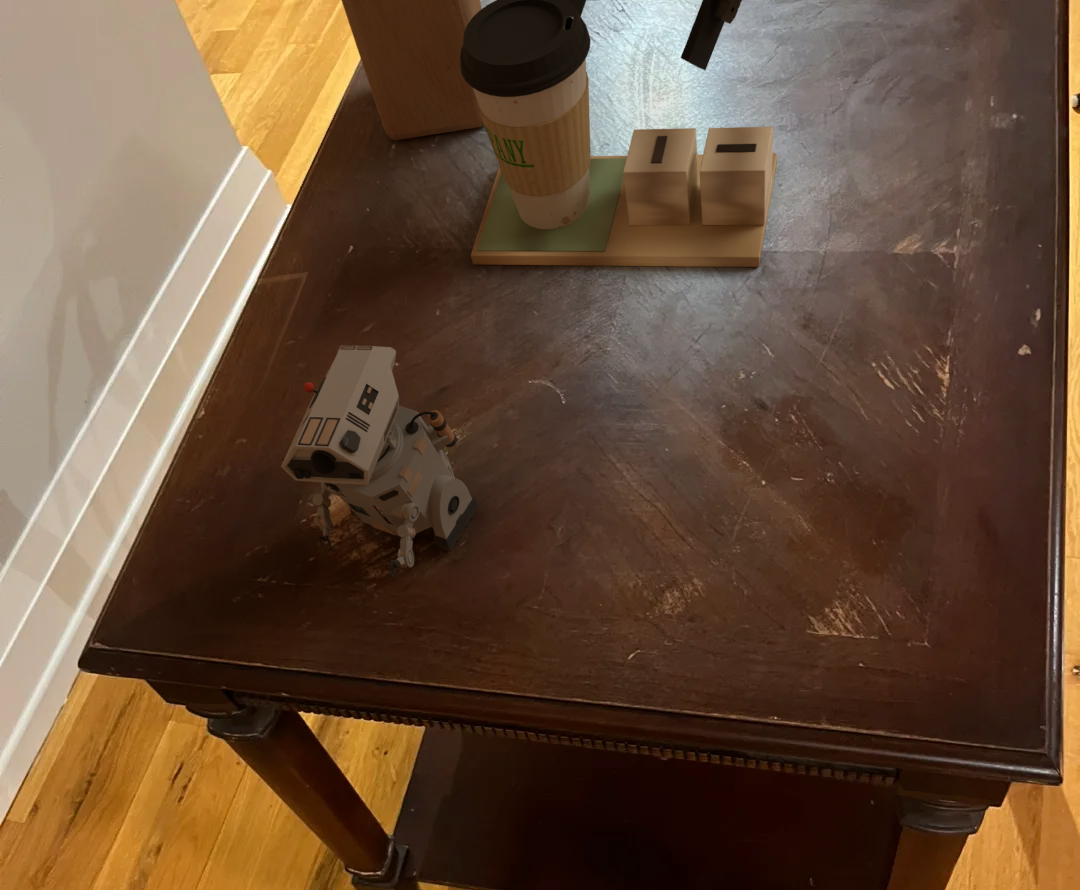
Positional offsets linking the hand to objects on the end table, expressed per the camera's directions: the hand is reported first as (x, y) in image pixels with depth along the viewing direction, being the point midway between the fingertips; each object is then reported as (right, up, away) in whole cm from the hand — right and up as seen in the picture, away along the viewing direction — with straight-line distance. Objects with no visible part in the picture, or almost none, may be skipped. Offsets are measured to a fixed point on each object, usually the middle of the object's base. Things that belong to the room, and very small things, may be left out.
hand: (627, 38), depth 87 cm
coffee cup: (-6, -11, +5) cm, 13 cm away
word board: (0, -12, +4) cm, 13 cm away
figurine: (-17, -41, -6) cm, 45 cm away
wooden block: (-16, +3, +16) cm, 23 cm away
